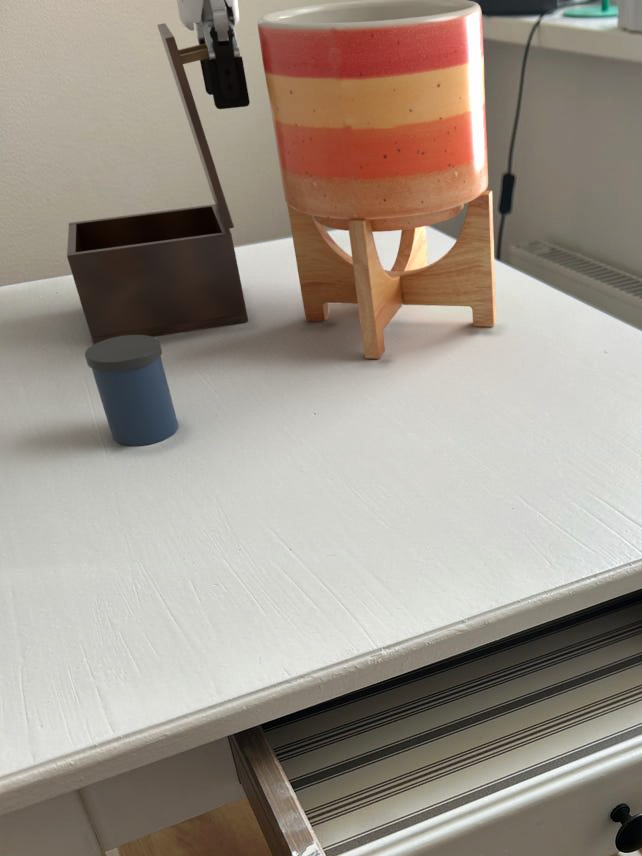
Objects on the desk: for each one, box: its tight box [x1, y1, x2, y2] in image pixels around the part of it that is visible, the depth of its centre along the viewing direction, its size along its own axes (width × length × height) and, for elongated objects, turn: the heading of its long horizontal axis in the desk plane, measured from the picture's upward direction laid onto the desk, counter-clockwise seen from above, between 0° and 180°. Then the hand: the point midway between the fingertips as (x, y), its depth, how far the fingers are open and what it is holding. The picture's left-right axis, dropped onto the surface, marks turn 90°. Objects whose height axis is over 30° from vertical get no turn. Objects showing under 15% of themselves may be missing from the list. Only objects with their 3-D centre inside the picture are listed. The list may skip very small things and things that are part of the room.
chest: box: [66, 203, 249, 345], centre depth 102 cm, size 16×13×9 cm
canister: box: [84, 335, 179, 447], centre depth 80 cm, size 6×6×7 cm
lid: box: [157, 22, 235, 230], centre depth 96 cm, size 16×13×6 cm
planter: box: [257, 0, 497, 360], centre depth 91 cm, size 20×20×27 cm
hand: (227, 99), depth 95 cm, fingers open, 8 cm apart
